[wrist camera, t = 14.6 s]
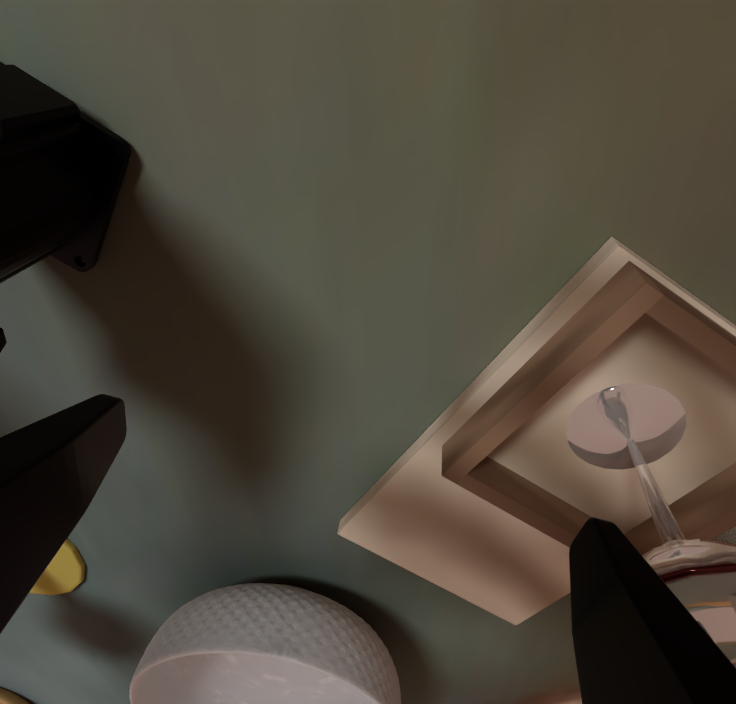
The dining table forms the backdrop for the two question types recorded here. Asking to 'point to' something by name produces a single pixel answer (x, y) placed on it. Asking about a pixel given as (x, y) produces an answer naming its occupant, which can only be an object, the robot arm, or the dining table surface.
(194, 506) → the dining table surface
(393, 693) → the cereal bowl
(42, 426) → the robot arm
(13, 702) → the doughnut
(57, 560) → the candle
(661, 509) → the wineglass
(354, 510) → the brown wooden tray
